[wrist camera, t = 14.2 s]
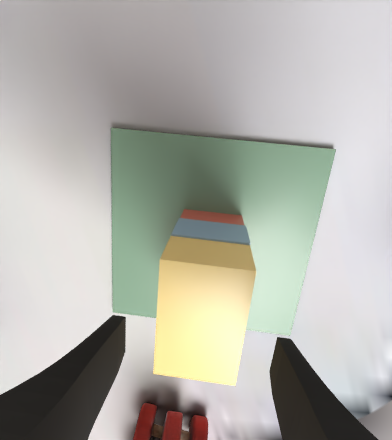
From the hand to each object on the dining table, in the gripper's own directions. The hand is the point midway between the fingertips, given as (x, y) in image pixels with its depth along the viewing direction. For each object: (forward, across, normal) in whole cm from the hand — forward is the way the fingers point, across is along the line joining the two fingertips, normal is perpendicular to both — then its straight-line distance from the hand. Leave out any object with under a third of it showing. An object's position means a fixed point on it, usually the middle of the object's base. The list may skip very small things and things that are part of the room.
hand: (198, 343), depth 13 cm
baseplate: (+10, 0, -1) cm, 10 cm away
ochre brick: (+4, 0, 0) cm, 4 cm away
